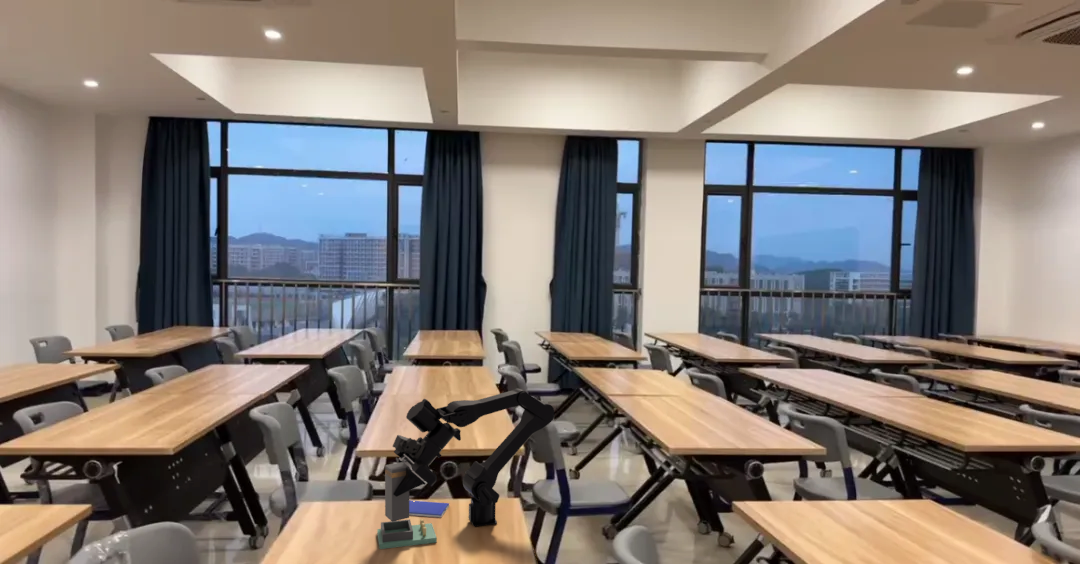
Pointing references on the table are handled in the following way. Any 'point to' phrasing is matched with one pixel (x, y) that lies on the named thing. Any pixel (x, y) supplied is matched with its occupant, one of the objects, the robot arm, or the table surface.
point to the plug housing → (394, 505)
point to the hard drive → (427, 508)
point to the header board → (405, 534)
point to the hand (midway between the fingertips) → (391, 492)
